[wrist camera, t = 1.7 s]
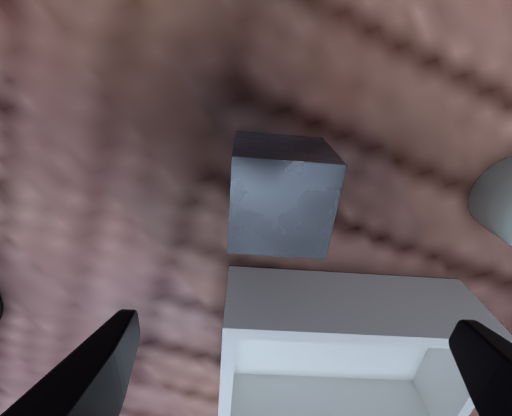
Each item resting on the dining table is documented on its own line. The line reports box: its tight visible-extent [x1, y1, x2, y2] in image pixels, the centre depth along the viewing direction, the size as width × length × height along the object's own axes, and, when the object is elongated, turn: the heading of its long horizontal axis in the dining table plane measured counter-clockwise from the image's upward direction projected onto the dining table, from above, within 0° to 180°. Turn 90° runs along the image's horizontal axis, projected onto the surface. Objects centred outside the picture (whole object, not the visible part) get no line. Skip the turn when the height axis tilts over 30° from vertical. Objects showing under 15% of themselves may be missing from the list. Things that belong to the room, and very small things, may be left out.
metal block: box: [227, 131, 347, 259], centre depth 16 cm, size 5×5×5 cm
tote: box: [218, 266, 512, 416], centre depth 22 cm, size 17×11×6 cm, turn 85°
